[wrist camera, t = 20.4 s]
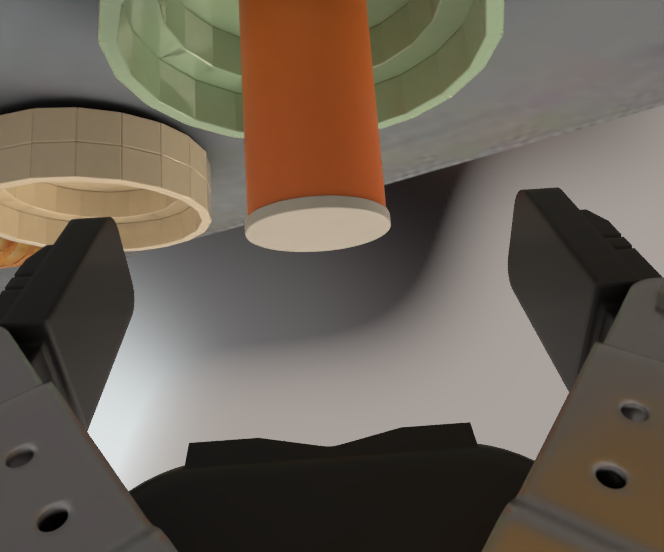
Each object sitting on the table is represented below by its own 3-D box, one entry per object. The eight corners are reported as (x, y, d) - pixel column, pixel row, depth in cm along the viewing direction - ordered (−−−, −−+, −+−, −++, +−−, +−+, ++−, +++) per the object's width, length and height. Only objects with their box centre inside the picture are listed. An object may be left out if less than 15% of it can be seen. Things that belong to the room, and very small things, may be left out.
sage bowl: (46, -18, 23) (41, 86, 22) (236, -376, 13) (244, -216, 12) (323, 86, 31) (329, 164, 30) (565, -82, 21) (584, 25, 20)
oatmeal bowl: (-54, 169, 37) (-59, 236, 36) (0, 68, 28) (-5, 156, 27) (153, 205, 46) (153, 260, 45) (250, 138, 36) (253, 206, 35)
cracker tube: (209, -28, 22) (217, 241, 20) (284, -116, 19) (305, 197, 16) (310, 19, 25) (327, 258, 23) (391, -50, 21) (421, 223, 19)
